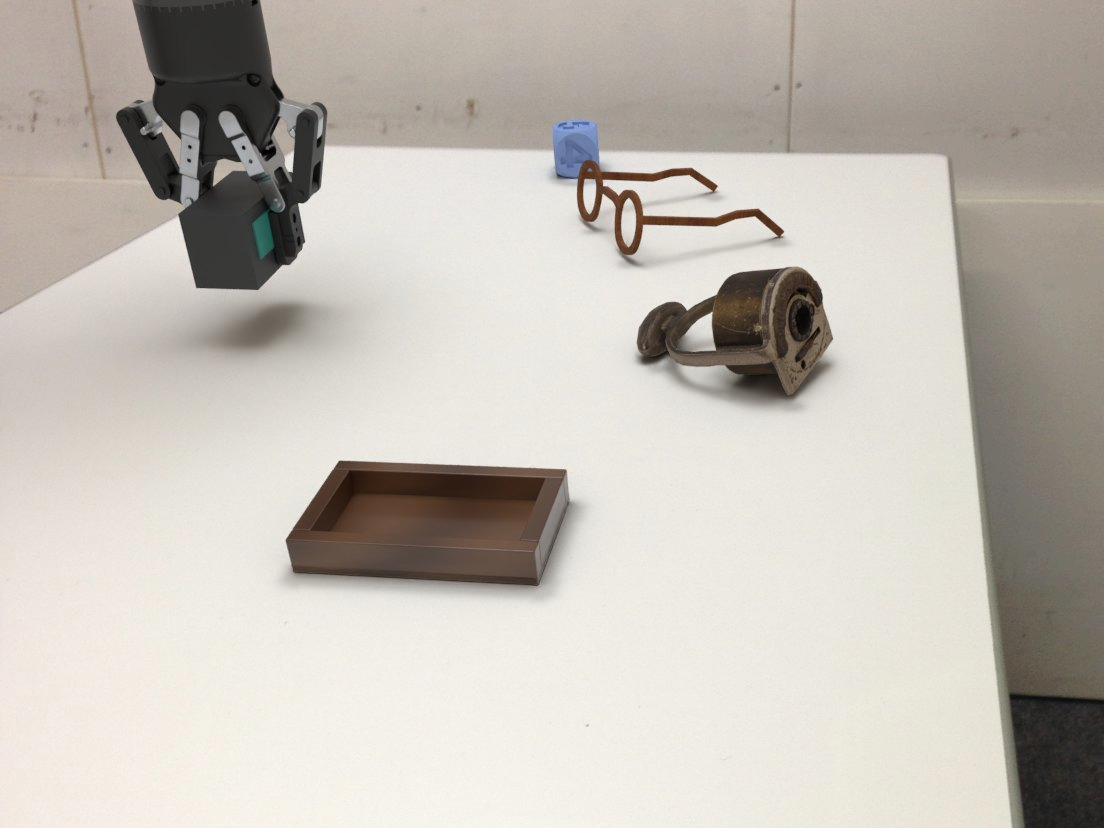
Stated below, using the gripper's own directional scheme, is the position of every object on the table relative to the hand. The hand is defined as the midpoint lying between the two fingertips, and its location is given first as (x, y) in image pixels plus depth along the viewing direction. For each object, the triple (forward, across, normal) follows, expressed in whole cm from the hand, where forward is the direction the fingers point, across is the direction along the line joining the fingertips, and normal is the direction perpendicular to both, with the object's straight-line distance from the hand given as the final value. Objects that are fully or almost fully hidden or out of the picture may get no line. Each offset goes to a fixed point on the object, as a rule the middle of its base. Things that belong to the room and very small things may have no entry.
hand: (253, 259), depth 89 cm
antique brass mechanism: (+5, +34, -4) cm, 34 cm away
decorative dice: (+5, +16, +35) cm, 39 cm away
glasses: (+5, +27, +21) cm, 34 cm away
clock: (0, 0, 0) cm, 0 cm away
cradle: (+5, +20, -26) cm, 33 cm away
